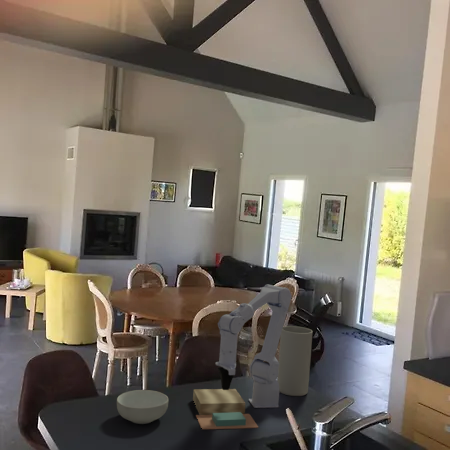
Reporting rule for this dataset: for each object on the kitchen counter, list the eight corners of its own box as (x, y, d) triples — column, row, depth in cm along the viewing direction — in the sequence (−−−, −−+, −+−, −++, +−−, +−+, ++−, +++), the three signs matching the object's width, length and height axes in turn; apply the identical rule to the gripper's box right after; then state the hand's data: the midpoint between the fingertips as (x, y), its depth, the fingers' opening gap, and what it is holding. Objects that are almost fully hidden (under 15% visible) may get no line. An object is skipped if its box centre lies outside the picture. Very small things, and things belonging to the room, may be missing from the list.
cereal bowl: (147, 405, 185) (148, 386, 185) (177, 421, 173) (178, 400, 173) (105, 416, 173) (107, 395, 173) (134, 434, 161) (136, 411, 161)
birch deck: (234, 399, 197) (235, 389, 197) (244, 414, 184) (245, 402, 183) (192, 400, 193) (193, 389, 193) (199, 415, 180) (200, 403, 180)
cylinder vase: (290, 384, 220) (294, 325, 219) (314, 393, 211) (318, 331, 210) (270, 389, 211) (274, 327, 211) (294, 399, 202) (298, 334, 201)
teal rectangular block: (246, 419, 173) (245, 425, 173) (240, 412, 179) (240, 417, 179) (216, 420, 171) (216, 426, 171) (212, 413, 177) (212, 418, 177)
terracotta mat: (249, 414, 183) (249, 413, 183) (258, 427, 173) (258, 426, 173) (195, 415, 179) (195, 415, 179) (201, 429, 168) (201, 428, 168)
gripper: (212, 344, 186) (209, 382, 186) (221, 356, 172) (218, 397, 172) (231, 344, 187) (229, 382, 188) (242, 356, 173) (239, 396, 174)
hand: (225, 389), depth 180 cm, fingers closed
